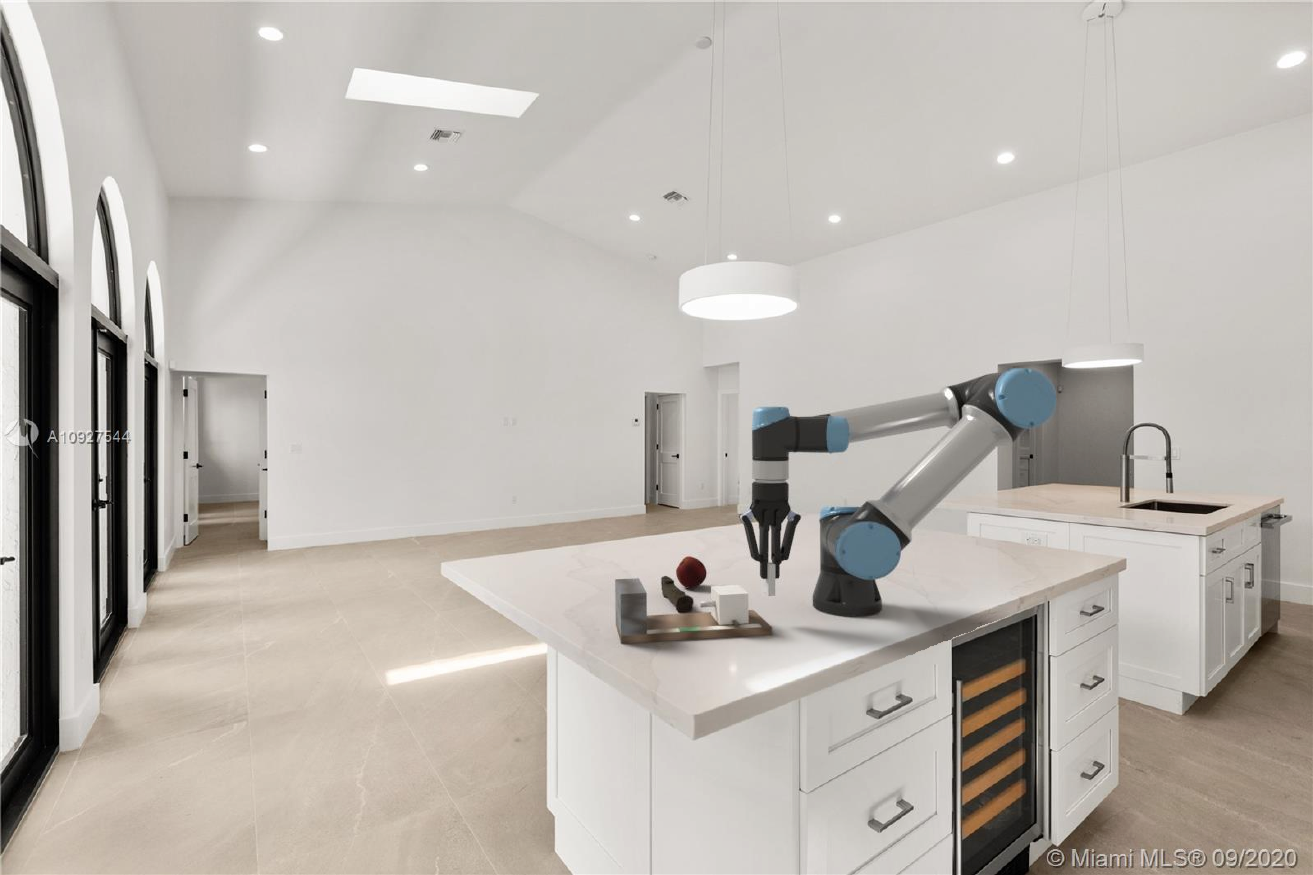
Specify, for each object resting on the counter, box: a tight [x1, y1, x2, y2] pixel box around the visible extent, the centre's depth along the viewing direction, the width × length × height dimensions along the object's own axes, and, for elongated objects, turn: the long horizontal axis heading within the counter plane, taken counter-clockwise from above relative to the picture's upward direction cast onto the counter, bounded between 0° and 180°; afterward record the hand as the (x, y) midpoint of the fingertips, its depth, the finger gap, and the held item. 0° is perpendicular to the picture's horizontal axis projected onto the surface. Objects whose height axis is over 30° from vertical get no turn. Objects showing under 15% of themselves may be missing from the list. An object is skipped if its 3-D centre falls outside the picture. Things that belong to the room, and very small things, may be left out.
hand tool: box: [660, 575, 694, 614], centre depth 149 cm, size 19×4×5 cm, turn 12°
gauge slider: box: [699, 584, 749, 626], centre depth 128 cm, size 9×10×6 cm
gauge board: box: [614, 577, 773, 645], centre depth 128 cm, size 30×12×10 cm, turn 99°
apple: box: [675, 555, 707, 589], centre depth 161 cm, size 7×8×8 cm
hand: (769, 594), depth 130 cm, fingers closed
